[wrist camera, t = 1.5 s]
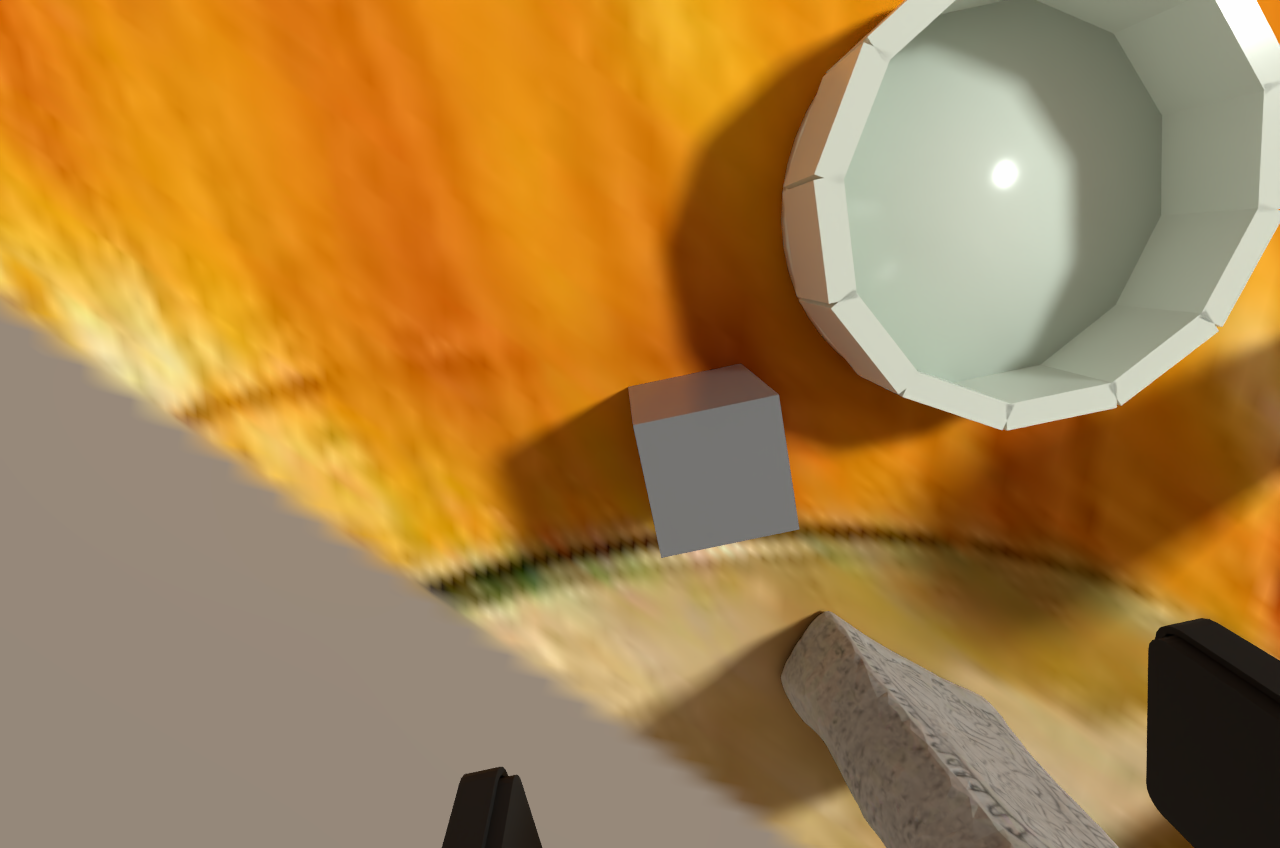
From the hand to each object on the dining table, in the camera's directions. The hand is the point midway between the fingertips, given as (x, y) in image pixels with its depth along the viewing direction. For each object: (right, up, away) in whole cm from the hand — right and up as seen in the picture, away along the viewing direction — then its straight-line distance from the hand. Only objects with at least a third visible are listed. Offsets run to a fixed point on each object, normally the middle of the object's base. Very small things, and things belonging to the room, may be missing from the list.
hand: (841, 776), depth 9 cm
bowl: (+11, +14, +17) cm, 25 cm away
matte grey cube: (-1, +5, +19) cm, 20 cm away
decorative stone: (+9, -8, +23) cm, 26 cm away
